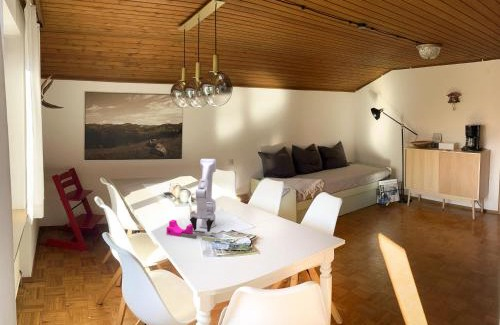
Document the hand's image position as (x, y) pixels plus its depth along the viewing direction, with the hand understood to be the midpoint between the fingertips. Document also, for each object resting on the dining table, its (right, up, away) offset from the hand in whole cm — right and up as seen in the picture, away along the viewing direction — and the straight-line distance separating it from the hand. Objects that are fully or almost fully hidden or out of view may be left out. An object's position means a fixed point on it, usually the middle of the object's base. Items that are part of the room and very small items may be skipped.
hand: (201, 230), depth 234 cm
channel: (-9, -3, +3) cm, 10 cm away
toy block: (-14, -3, +2) cm, 14 cm away
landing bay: (+12, -4, -6) cm, 14 cm away
